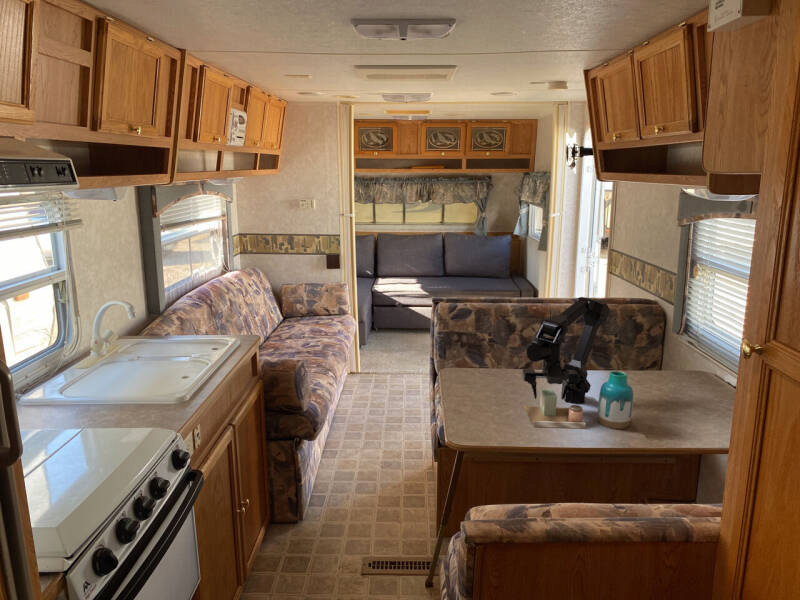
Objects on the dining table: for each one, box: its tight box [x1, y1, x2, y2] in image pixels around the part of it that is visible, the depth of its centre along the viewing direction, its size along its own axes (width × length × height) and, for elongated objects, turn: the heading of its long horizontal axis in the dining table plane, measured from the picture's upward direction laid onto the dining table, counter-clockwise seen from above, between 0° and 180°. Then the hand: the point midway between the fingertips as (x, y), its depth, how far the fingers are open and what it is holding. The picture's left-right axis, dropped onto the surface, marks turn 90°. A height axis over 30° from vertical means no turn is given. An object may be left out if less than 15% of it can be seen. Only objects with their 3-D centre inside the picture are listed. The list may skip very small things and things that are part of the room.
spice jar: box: [568, 404, 584, 422], centre depth 192 cm, size 4×4×6 cm
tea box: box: [539, 388, 558, 416], centre depth 201 cm, size 7×4×7 cm, turn 178°
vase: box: [597, 370, 634, 430], centre depth 191 cm, size 11×11×19 cm
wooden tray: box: [523, 406, 587, 430], centre depth 198 cm, size 17×17×3 cm
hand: (548, 399), depth 201 cm, fingers open, 9 cm apart
